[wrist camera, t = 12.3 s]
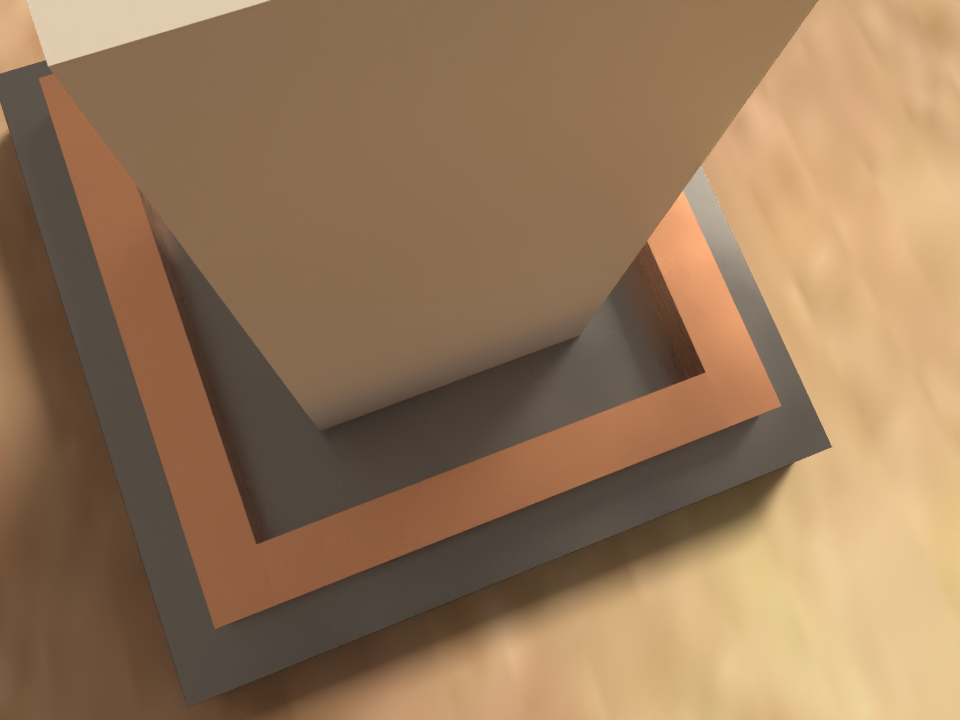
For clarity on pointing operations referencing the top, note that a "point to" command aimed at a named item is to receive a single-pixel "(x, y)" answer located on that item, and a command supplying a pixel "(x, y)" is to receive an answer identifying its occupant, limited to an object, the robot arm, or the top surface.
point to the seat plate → (387, 423)
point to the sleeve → (410, 161)
